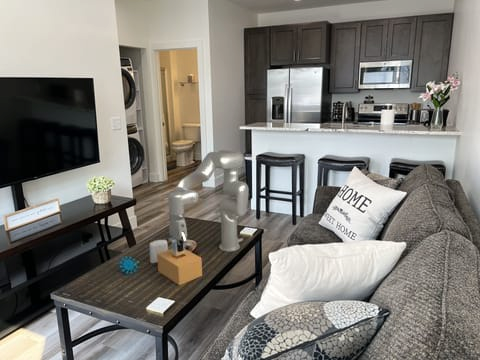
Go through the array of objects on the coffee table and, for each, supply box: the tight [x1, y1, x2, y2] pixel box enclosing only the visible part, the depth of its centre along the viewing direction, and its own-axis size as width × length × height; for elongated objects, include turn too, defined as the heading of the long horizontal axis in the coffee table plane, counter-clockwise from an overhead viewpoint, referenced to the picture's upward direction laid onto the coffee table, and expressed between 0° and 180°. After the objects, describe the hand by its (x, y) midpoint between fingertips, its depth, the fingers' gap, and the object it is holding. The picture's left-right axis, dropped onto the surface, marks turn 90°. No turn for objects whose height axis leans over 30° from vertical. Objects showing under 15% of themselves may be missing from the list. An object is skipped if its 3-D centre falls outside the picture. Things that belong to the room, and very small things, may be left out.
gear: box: [118, 256, 140, 275], centre depth 191 cm, size 11×6×10 cm
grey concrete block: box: [167, 237, 185, 256], centre depth 184 cm, size 9×4×9 cm, turn 133°
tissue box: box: [157, 248, 203, 286], centre depth 187 cm, size 14×20×10 cm
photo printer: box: [149, 239, 169, 264], centre depth 201 cm, size 10×4×12 cm, turn 116°
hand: (178, 249), depth 184 cm, fingers closed on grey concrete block, 3 cm apart
